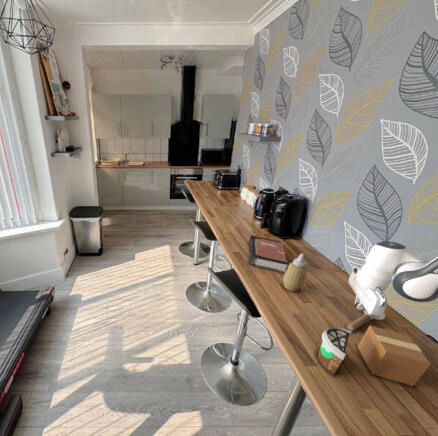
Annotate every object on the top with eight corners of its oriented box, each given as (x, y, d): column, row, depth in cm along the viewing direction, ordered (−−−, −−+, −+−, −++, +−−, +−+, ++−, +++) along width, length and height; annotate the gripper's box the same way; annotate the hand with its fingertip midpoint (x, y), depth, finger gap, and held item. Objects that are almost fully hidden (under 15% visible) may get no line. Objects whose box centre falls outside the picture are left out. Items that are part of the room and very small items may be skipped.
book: (287, 273, 118) (290, 264, 116) (250, 264, 123) (252, 256, 121) (280, 248, 140) (282, 240, 138) (249, 242, 146) (251, 235, 144)
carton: (393, 356, 78) (408, 334, 73) (413, 386, 69) (431, 363, 65) (357, 346, 81) (369, 325, 76) (371, 373, 72) (386, 351, 68)
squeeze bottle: (300, 296, 103) (313, 261, 95) (280, 288, 107) (291, 255, 99) (301, 285, 109) (313, 252, 102) (281, 279, 113) (292, 247, 106)
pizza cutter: (357, 338, 84) (361, 332, 83) (339, 325, 89) (342, 319, 88) (386, 318, 92) (389, 313, 91) (367, 308, 97) (370, 302, 96)
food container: (318, 340, 82) (328, 319, 78) (340, 352, 78) (351, 330, 74) (309, 363, 74) (319, 341, 70) (332, 377, 70) (345, 355, 66)
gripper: (398, 300, 80) (380, 329, 85) (370, 267, 97) (356, 293, 103) (375, 295, 82) (359, 324, 87) (351, 264, 99) (339, 289, 105)
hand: (357, 307), depth 95 cm, fingers closed
